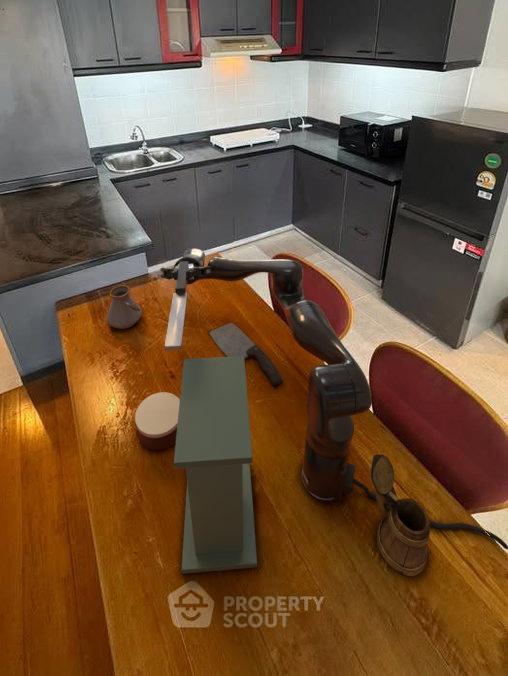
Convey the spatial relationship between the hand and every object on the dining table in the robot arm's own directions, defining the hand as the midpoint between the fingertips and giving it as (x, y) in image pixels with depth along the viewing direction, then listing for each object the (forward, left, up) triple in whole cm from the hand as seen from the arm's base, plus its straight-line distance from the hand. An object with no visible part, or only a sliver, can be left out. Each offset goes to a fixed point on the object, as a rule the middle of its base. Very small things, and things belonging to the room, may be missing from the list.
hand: (181, 275), depth 90 cm
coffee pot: (+31, -12, -39) cm, 51 cm away
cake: (+1, +13, -38) cm, 41 cm away
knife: (-3, +6, -3) cm, 7 cm away
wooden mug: (-54, +13, -39) cm, 68 cm away
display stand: (-21, +23, -38) cm, 49 cm away
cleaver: (-9, -17, -39) cm, 43 cm away
